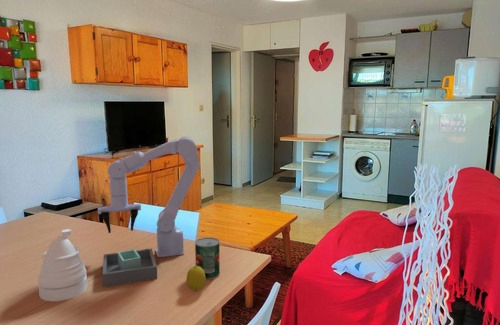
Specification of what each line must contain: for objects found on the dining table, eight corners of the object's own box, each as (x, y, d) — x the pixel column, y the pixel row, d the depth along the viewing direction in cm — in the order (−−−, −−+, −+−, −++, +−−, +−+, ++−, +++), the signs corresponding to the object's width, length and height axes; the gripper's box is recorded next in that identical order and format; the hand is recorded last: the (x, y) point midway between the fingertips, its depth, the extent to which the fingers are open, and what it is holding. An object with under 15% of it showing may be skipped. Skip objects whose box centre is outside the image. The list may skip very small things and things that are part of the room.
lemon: (202, 296, 107) (201, 270, 106) (184, 294, 108) (183, 268, 107) (208, 287, 112) (207, 262, 111) (190, 285, 113) (190, 260, 112)
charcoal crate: (152, 259, 132) (151, 248, 132) (157, 278, 118) (156, 266, 117) (104, 265, 127) (103, 254, 126) (103, 286, 112) (102, 274, 112)
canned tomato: (191, 272, 122) (190, 241, 120) (210, 266, 127) (210, 235, 125) (204, 281, 116) (203, 248, 114) (224, 274, 121) (224, 242, 119)
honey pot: (75, 276, 119) (71, 222, 116) (95, 288, 111) (91, 231, 108) (31, 291, 109) (26, 233, 107) (50, 306, 101) (45, 243, 99)
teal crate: (135, 262, 127) (134, 249, 127) (141, 271, 121) (140, 257, 120) (118, 266, 124) (117, 252, 124) (123, 275, 118) (122, 260, 117)
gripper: (139, 190, 138) (140, 225, 140) (97, 193, 133) (99, 229, 135) (140, 194, 132) (142, 231, 134) (96, 198, 127) (99, 236, 129)
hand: (120, 230), depth 134 cm, fingers open, 7 cm apart
